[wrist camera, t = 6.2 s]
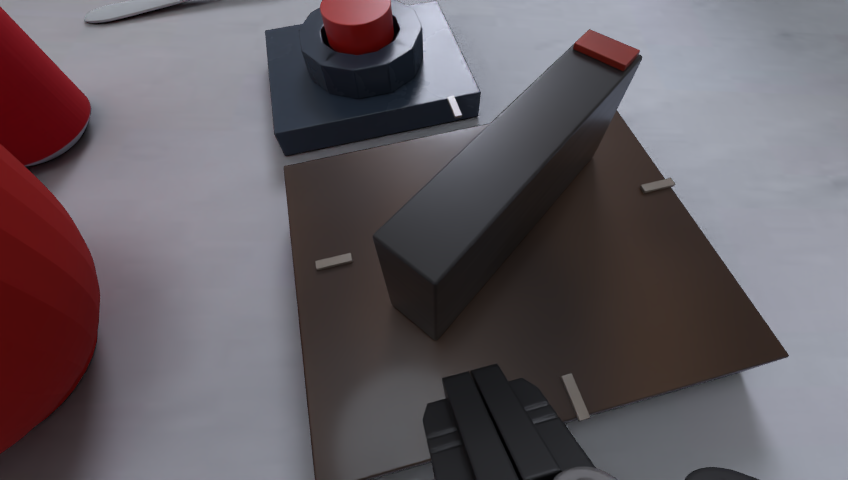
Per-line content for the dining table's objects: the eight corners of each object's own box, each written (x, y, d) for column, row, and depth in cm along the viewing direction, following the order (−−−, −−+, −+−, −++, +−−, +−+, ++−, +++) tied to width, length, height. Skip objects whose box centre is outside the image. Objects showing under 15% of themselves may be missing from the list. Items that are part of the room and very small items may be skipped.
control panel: (335, 493, 14) (314, 498, 12) (295, 167, 21) (278, 130, 19) (745, 373, 16) (799, 357, 13) (577, 108, 23) (592, 67, 21)
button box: (284, 156, 22) (260, 106, 19) (274, 54, 26) (252, 0, 23) (478, 116, 23) (484, 62, 20) (437, 25, 27) (437, -31, 24)
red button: (332, 62, 21) (324, 30, 19) (324, 22, 23) (315, -10, 21) (400, 50, 21) (397, 17, 20) (386, 11, 23) (383, -21, 21)
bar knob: (436, 342, 14) (435, 281, 9) (390, 303, 15) (368, 230, 10) (594, 155, 18) (647, 49, 13) (551, 132, 19) (588, 24, 14)
